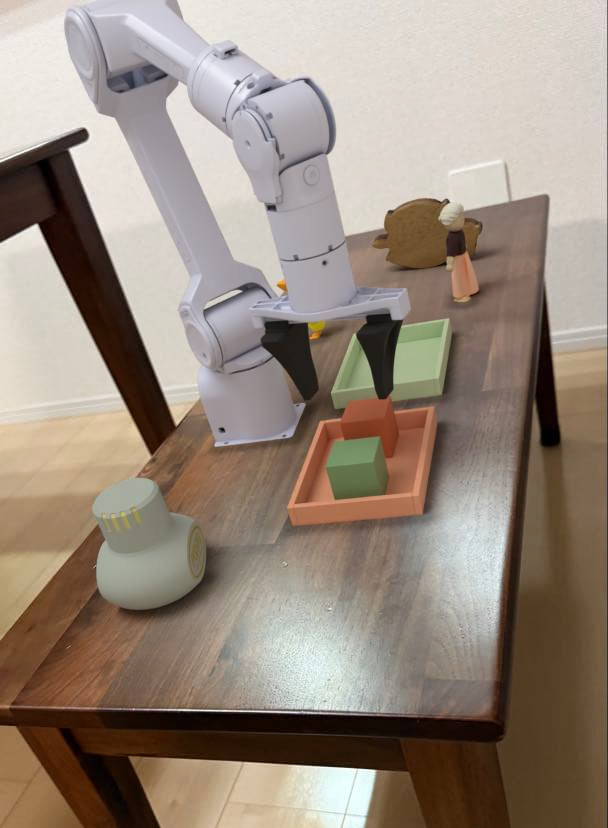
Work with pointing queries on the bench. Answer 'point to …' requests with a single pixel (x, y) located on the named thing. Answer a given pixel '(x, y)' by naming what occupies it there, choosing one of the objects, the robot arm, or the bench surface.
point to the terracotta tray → (404, 469)
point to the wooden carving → (421, 234)
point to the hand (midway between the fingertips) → (348, 394)
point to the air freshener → (145, 547)
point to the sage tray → (399, 365)
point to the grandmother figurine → (458, 253)
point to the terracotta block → (371, 422)
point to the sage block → (357, 468)
